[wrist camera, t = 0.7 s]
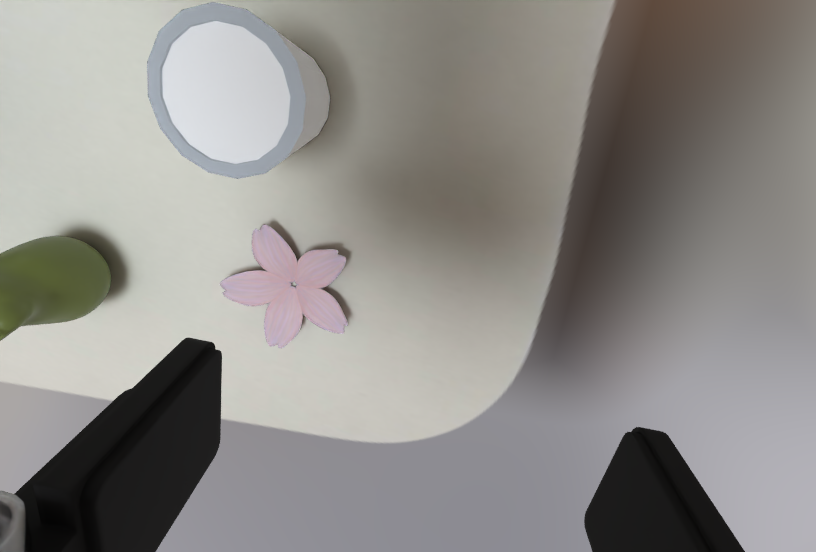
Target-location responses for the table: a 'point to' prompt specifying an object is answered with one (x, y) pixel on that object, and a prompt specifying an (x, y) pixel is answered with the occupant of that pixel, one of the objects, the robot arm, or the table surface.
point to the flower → (288, 287)
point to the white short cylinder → (234, 90)
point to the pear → (50, 282)
